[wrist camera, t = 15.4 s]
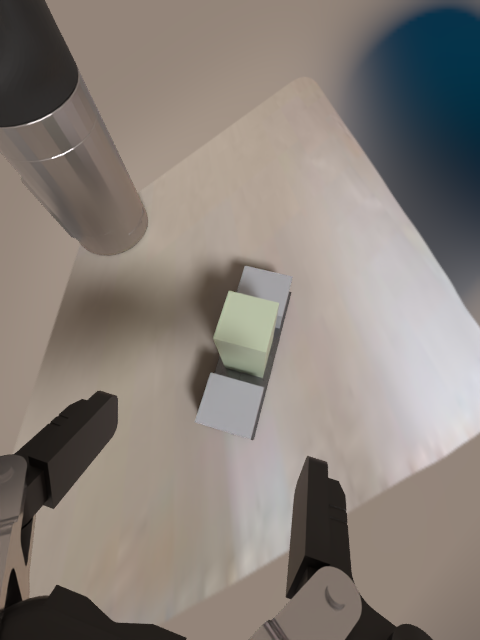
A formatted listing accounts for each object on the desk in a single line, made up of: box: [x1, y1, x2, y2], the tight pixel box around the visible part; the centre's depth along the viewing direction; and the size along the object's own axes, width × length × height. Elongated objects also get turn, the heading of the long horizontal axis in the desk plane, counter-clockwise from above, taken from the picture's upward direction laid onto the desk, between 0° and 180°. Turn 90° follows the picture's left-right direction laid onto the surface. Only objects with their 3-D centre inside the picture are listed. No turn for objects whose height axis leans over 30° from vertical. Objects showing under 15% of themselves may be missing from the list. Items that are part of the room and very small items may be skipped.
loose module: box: [213, 291, 279, 378], centre depth 28 cm, size 4×4×10 cm
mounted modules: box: [195, 266, 293, 439], centre depth 31 cm, size 5×16×4 cm, turn 164°
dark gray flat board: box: [215, 292, 291, 440], centre depth 33 cm, size 6×16×1 cm, turn 164°
